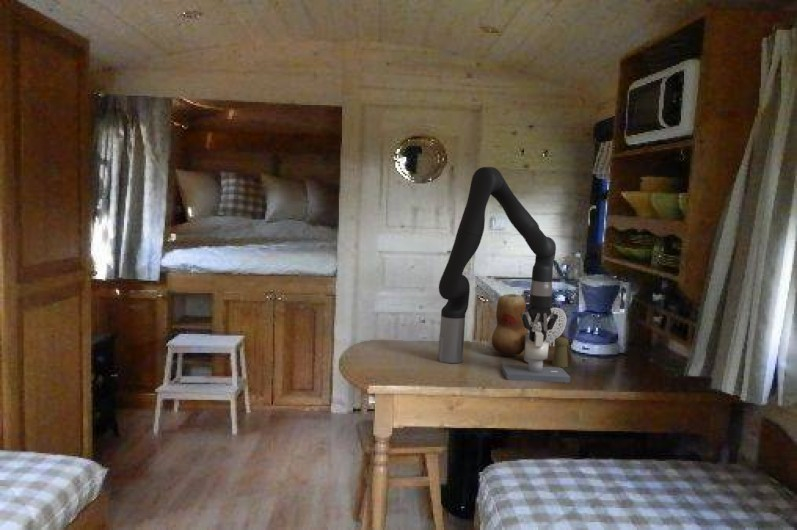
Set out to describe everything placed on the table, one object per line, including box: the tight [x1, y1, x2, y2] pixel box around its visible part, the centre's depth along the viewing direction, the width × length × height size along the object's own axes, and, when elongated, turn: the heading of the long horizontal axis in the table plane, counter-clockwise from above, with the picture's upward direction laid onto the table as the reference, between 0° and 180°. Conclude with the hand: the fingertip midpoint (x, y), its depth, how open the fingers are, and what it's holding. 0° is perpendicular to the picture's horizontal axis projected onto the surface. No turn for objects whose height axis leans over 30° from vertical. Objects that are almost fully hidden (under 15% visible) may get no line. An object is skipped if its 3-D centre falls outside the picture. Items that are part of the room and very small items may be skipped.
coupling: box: [524, 329, 550, 361], centre depth 219 cm, size 11×8×9 cm
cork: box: [551, 336, 569, 369], centre depth 235 cm, size 6×6×11 cm
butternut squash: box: [491, 293, 527, 357], centre depth 245 cm, size 14×13×25 cm
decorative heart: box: [527, 307, 568, 347], centre depth 265 cm, size 18×11×17 cm, turn 98°
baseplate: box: [501, 358, 571, 384], centre depth 219 cm, size 22×12×7 cm, turn 90°
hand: (537, 341), depth 218 cm, fingers closed on coupling, 3 cm apart
